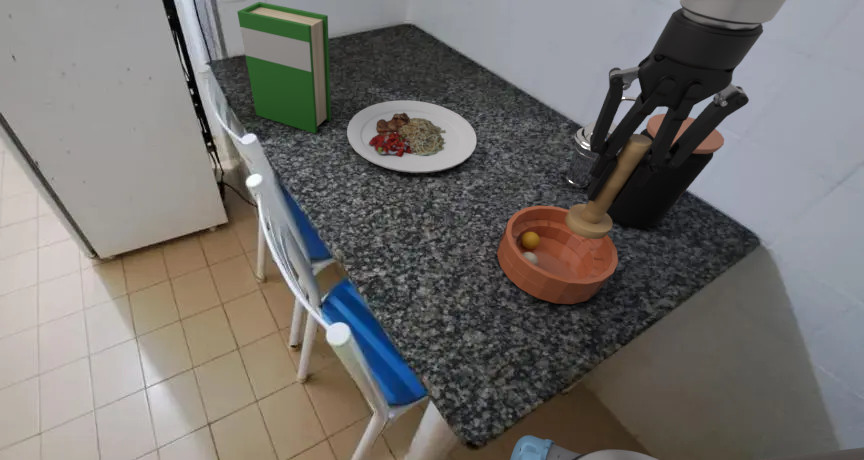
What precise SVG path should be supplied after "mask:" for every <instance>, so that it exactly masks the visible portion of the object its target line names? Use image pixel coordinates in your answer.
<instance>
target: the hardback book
mask: <svg viewBox="0 0 864 460" xmlns="http://www.w3.org/2000/svg"><path fill="white" fill-rule="evenodd" d="M236 13H237V17H238V24H239V28H240V29H239V30H240V34H241V39H242V46H243V49H244V51H243V52H244V55H245V61H246V67H247V71H248V76H249V78H248V79H249V82H250V87H251V94H252V99H253V104H254V109H255V115H256V116H259V117H261V118H264V119H268V120H271V121H274V122H277V123H281V124H283V125H287V126H290V127H293V128H295V129H296V128H297V129H299V130H302V131H306V132H309V133H312V134H315V135H316V134H317V133H318V127H319V126H320V125H321V124H322V123H323V122H324V121H327V122H330V121H331V120H332V107H331V103H332V102H331V77H330V75H331V74H330V49H329V48H330V45H329V17H328V15H327V14H322V13H318V12H313V11H307V10H302V9H298V8H292V7H287V6H283V5H278V4H272V3H267V2H262V1H258V2H255V3H254V4H250V5H248V6H246V7H244V8H242V9H240V10H237V12H236Z"/></svg>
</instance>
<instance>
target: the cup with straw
mask: <svg viewBox="0 0 864 460" xmlns="http://www.w3.org/2000/svg"><path fill="white" fill-rule="evenodd" d="M637 97H638V96H628V95H623V96H622V100H621V103H620V105H619V107H618V109H619V108H620V106H621V104H622V103H623V102H624V101H627V102H635V101H636V99H637ZM596 121H597V120H594V121H591V122H589V123H588V124H586V125H585V126H584V127H581V128H579V129H578V130H577V131H576V132H575V134H574V140H575V147H574V152H573V154H572V157H571V160H570V163H569V166H568V169H567V170H566V176H565V177H564V180H565V182H566V183H567V184H568V185H570V186H571V187H574V188H578V189H584V188H588V187H589V184H590V183H591V182H592V180H593V178H594V177H592V176H591V167H592V165H593V164H594V162H595V160H596V158H597V157H598V155H599V154H598V153H594V152H591V150H590V137H591V134H592V132H593V129H594V127H595V124H596ZM617 126H618V124H617V123H615V122H614V121H613V122H612V124H611V127H610V129H609V132H608V134H607V136H606V139H605V141H606V140H607V139H608V137H609V136H610V135H611V133H612V132H613V131H614V129H615V128H616V127H617ZM620 150H621V149H620ZM620 150H619V151H620ZM618 153H619V152H618ZM618 153H617V154H618Z"/></svg>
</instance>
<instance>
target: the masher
mask: <svg viewBox="0 0 864 460" xmlns="http://www.w3.org/2000/svg"><path fill="white" fill-rule="evenodd" d="M651 144H652V140H651V139H650V138H648V137H647V136H644V135H641V134H640V133H633V134H632V136H631V137H630V138H629V139H628V141H627V142H626V143H625V144H624V145H623V147H622V148H621V150H620V151H619V153H617V154H616V155H617V165H616V167H615V168H614V170H613V171H612V173H611V175H610V176H609V178H608V179H607V181H606V183H605V184H604V186H603V187H602V189H601V191H600V192H599V194H598V195H597V197H596V199H595V200H594V201H590V200H588V202H587V203H579V204H578V203H577V204H574V205H572V206H571V207H570V208H569V209H568V210H569V211H568V213H567V215H566V217H565V222H566V225H567V226H568V227H569V229H570V230H571V231H573V232H574V233H576V234H577V235H579V236H582V237H584V238H588V239H601V238H603V237H605V236H606V235H608V233H609V232H610V231H611V230H612V228H613V225H614V223H613V219H611V217H610V216H609V215H608V214H607V213H606V212H607V210H608V209H609V207H610V206H611V204H612V203H613V201H614V200H615V198H616V197H617V195H618V194H619V192H620V191H621V189H622V188H623V186H624V185H625V183H626V182H627V180H628V179H629V177H630V176H631V174H632V173H633V171H634V170H635V168H636V167H637V165H638V164H639V162H640V161H641V159H642V158H643V156H644V155H645V153H646V152H647V150H648V149H649V147H650V146H651Z"/></svg>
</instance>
